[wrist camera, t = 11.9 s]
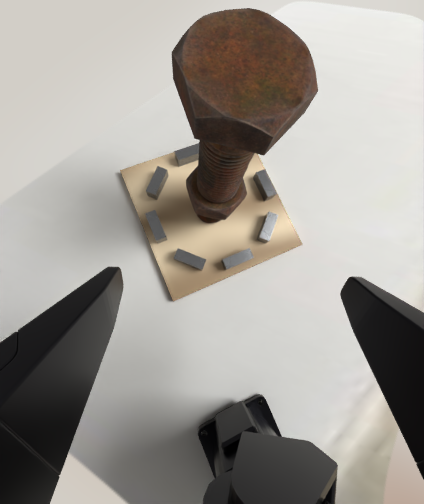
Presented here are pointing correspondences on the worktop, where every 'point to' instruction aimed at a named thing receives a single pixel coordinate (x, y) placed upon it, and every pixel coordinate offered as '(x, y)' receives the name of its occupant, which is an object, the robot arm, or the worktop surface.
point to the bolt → (238, 98)
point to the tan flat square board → (205, 226)
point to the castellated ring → (192, 260)
